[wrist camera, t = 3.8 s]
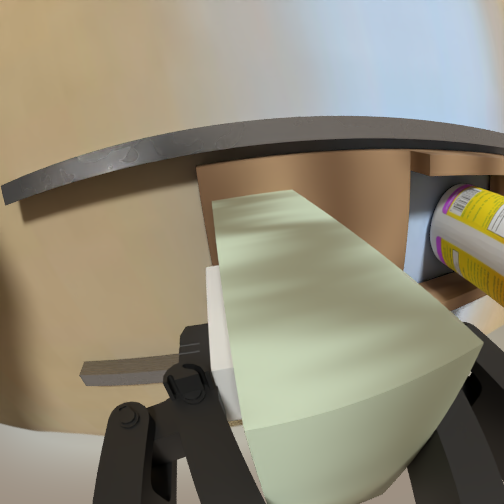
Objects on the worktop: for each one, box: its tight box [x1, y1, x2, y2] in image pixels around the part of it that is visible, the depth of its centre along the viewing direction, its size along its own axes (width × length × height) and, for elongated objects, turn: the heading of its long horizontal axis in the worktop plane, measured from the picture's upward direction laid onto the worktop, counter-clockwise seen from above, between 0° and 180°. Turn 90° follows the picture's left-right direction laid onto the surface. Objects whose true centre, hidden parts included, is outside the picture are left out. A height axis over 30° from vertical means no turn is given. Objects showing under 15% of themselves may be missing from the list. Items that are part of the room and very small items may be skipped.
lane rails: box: [1, 116, 504, 386], centre depth 17 cm, size 38×15×2 cm, turn 97°
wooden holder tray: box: [196, 148, 504, 504], centre depth 12 cm, size 24×11×13 cm, turn 96°
